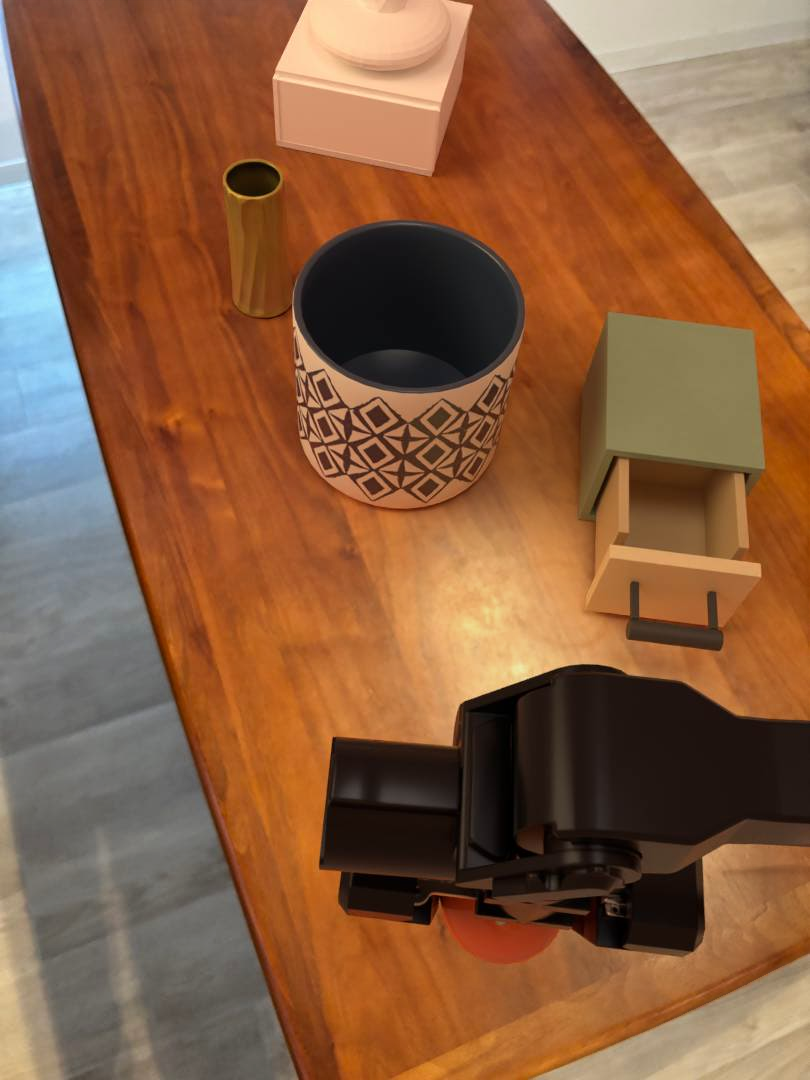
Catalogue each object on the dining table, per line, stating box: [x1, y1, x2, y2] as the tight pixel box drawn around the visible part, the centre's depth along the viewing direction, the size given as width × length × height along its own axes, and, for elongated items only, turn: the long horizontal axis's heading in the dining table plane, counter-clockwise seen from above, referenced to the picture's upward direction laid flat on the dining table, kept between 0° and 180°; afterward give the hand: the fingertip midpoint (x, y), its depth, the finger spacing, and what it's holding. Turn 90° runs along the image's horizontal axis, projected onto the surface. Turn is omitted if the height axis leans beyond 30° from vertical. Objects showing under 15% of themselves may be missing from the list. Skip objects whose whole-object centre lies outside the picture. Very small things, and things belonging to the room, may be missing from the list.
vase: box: [222, 158, 295, 319], centre depth 93 cm, size 6×6×14 cm
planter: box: [291, 219, 527, 509], centre depth 85 cm, size 18×18×16 cm
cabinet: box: [577, 311, 766, 522], centre depth 87 cm, size 15×13×11 cm
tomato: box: [439, 880, 561, 966], centre depth 58 cm, size 7×7×8 cm
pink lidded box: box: [271, 0, 474, 178], centre depth 107 cm, size 18×18×16 cm
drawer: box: [584, 456, 763, 652], centre depth 81 cm, size 18×11×9 cm, turn 174°
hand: (499, 902), depth 60 cm, fingers closed on tomato, 7 cm apart
